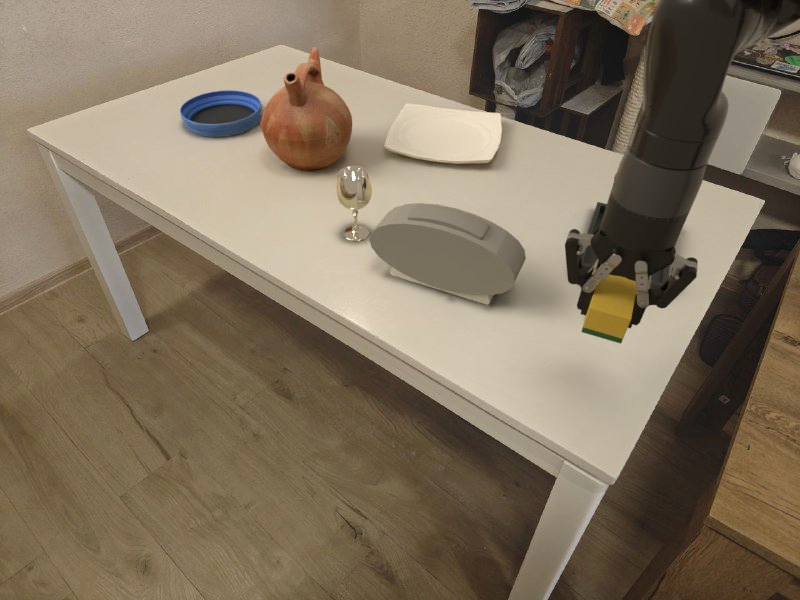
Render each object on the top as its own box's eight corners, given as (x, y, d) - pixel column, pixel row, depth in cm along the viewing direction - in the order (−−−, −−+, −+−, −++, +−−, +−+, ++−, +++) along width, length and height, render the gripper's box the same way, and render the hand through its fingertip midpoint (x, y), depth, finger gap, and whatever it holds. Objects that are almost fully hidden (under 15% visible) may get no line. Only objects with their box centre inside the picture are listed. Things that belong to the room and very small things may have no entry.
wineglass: (354, 220, 99) (350, 160, 91) (379, 231, 96) (378, 171, 88) (333, 235, 95) (327, 174, 87) (358, 247, 93) (355, 186, 85)
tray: (594, 211, 102) (597, 201, 100) (671, 229, 98) (675, 219, 96) (574, 273, 89) (577, 263, 87) (662, 297, 85) (667, 287, 83)
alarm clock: (519, 289, 86) (534, 222, 77) (508, 314, 82) (522, 247, 73) (386, 250, 93) (386, 184, 84) (370, 271, 89) (367, 204, 80)
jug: (289, 131, 123) (277, 38, 110) (365, 143, 120) (362, 48, 106) (252, 172, 110) (232, 72, 97) (336, 186, 107) (328, 84, 93)
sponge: (591, 295, 68) (599, 270, 66) (628, 305, 67) (638, 280, 64) (581, 332, 64) (589, 307, 61) (621, 343, 62) (631, 319, 60)
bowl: (205, 101, 135) (202, 86, 132) (274, 108, 132) (272, 93, 130) (168, 134, 122) (164, 119, 119) (244, 143, 119) (241, 127, 117)
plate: (494, 175, 111) (496, 163, 109) (377, 160, 114) (377, 148, 113) (504, 122, 128) (506, 111, 126) (402, 111, 132) (403, 100, 130)
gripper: (571, 196, 53) (539, 320, 65) (731, 232, 49) (667, 357, 61) (584, 161, 58) (553, 281, 70) (731, 191, 54) (671, 313, 66)
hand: (606, 316), depth 65 cm, fingers closed on sponge, 4 cm apart
